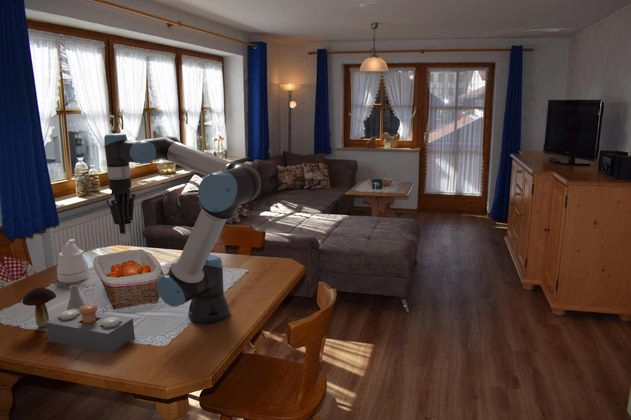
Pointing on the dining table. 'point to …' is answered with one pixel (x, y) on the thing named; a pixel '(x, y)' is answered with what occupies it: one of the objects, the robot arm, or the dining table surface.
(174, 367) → the dining table surface
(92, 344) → the grey rectangular block
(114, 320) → the near knob
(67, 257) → the honey pot
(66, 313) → the far knob
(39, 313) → the decorative mushroom
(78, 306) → the flask
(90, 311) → the middle knob
